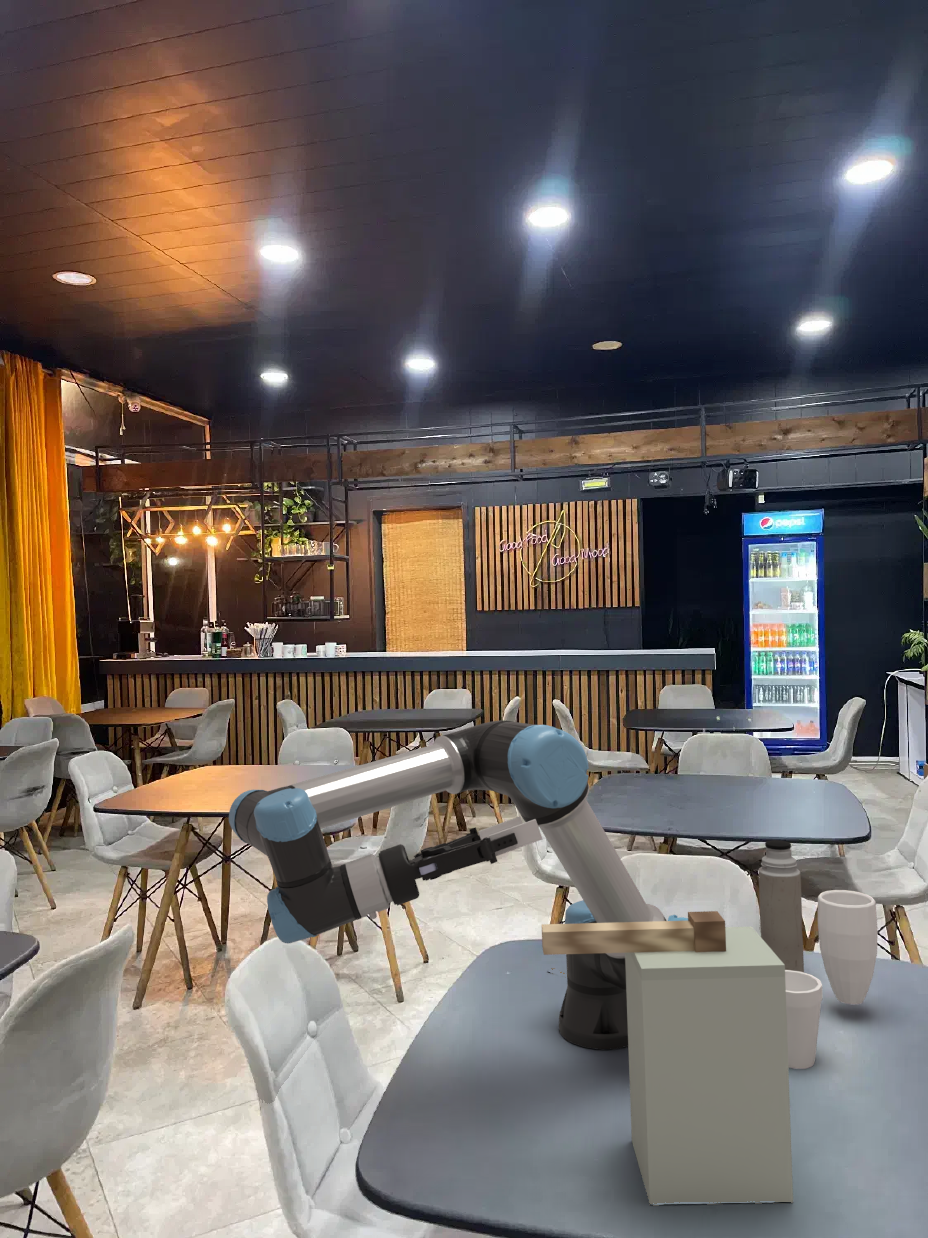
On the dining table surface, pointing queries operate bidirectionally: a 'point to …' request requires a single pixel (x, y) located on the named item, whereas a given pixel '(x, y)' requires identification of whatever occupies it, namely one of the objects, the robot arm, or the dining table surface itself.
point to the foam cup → (802, 1017)
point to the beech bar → (637, 936)
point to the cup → (848, 942)
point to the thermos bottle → (781, 904)
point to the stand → (710, 1072)
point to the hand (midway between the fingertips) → (530, 827)
